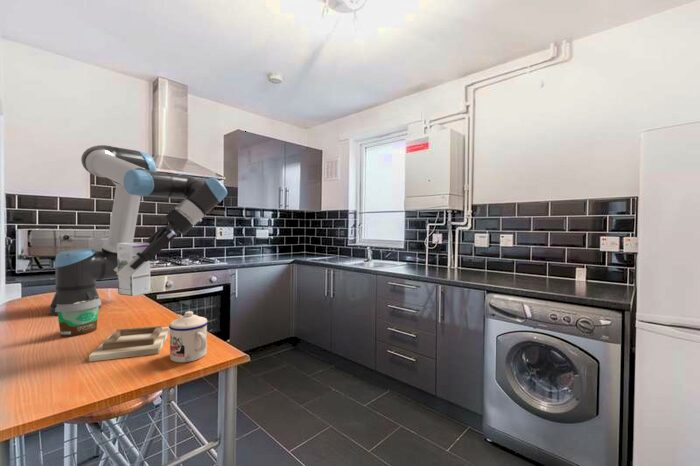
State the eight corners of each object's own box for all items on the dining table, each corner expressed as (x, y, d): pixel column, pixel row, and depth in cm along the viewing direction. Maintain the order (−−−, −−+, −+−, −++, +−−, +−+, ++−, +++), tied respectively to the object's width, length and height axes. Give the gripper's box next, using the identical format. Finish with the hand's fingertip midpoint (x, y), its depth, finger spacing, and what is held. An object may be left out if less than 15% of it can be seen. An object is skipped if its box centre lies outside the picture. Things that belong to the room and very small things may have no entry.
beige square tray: (113, 336, 96) (113, 326, 96) (170, 331, 101) (170, 322, 101) (89, 361, 79) (89, 349, 79) (158, 353, 84) (158, 342, 84)
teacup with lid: (162, 357, 82) (162, 312, 82) (196, 346, 90) (196, 305, 89) (186, 370, 76) (186, 321, 75) (221, 357, 83) (221, 313, 83)
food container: (71, 340, 92) (71, 306, 92) (55, 338, 94) (54, 304, 93) (111, 326, 104) (111, 296, 104) (96, 325, 106) (96, 295, 105)
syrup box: (151, 292, 91) (151, 242, 91) (131, 296, 86) (131, 243, 85) (137, 290, 93) (136, 241, 93) (116, 294, 88) (116, 242, 87)
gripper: (203, 227, 91) (136, 290, 81) (184, 225, 107) (126, 278, 97) (182, 207, 88) (110, 271, 78) (166, 209, 103) (104, 262, 93)
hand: (119, 275), depth 87 cm, fingers closed on syrup box, 8 cm apart
